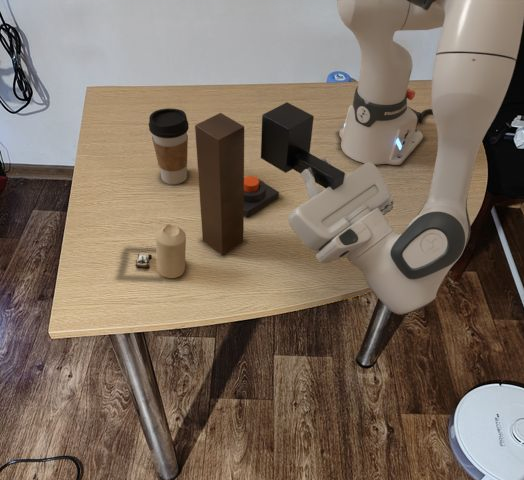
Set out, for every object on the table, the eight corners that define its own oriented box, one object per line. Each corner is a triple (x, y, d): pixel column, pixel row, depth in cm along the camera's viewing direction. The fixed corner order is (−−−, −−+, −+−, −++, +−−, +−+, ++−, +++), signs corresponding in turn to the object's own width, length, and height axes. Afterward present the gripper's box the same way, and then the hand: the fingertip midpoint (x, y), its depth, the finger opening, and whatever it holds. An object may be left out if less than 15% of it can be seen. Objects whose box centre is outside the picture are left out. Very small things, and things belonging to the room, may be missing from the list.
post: (223, 228, 118) (220, 112, 97) (243, 242, 115) (244, 126, 94) (202, 241, 115) (194, 125, 94) (222, 255, 112) (218, 139, 92)
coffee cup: (186, 190, 125) (181, 129, 113) (150, 184, 126) (141, 123, 114) (196, 168, 130) (192, 108, 118) (162, 163, 131) (154, 102, 119)
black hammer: (283, 145, 99) (287, 101, 92) (349, 182, 93) (357, 138, 86) (260, 158, 96) (262, 114, 90) (326, 197, 90) (332, 153, 84)
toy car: (151, 256, 111) (150, 249, 110) (148, 271, 109) (147, 263, 107) (138, 256, 111) (137, 248, 110) (135, 270, 109) (134, 263, 107)
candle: (161, 281, 107) (160, 242, 99) (153, 261, 110) (151, 222, 102) (188, 275, 109) (190, 236, 101) (179, 256, 112) (180, 217, 104)
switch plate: (253, 182, 128) (253, 169, 125) (278, 198, 124) (279, 185, 122) (221, 200, 123) (221, 187, 120) (247, 217, 120) (247, 204, 117)
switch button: (250, 180, 123) (250, 173, 121) (262, 187, 121) (262, 181, 120) (239, 187, 121) (239, 180, 120) (250, 194, 120) (250, 188, 118)
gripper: (409, 196, 95) (361, 131, 94) (333, 252, 86) (279, 180, 85) (387, 213, 100) (342, 152, 100) (314, 268, 91) (263, 200, 91)
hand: (312, 165), depth 92 cm, fingers closed on black hammer, 2 cm apart
